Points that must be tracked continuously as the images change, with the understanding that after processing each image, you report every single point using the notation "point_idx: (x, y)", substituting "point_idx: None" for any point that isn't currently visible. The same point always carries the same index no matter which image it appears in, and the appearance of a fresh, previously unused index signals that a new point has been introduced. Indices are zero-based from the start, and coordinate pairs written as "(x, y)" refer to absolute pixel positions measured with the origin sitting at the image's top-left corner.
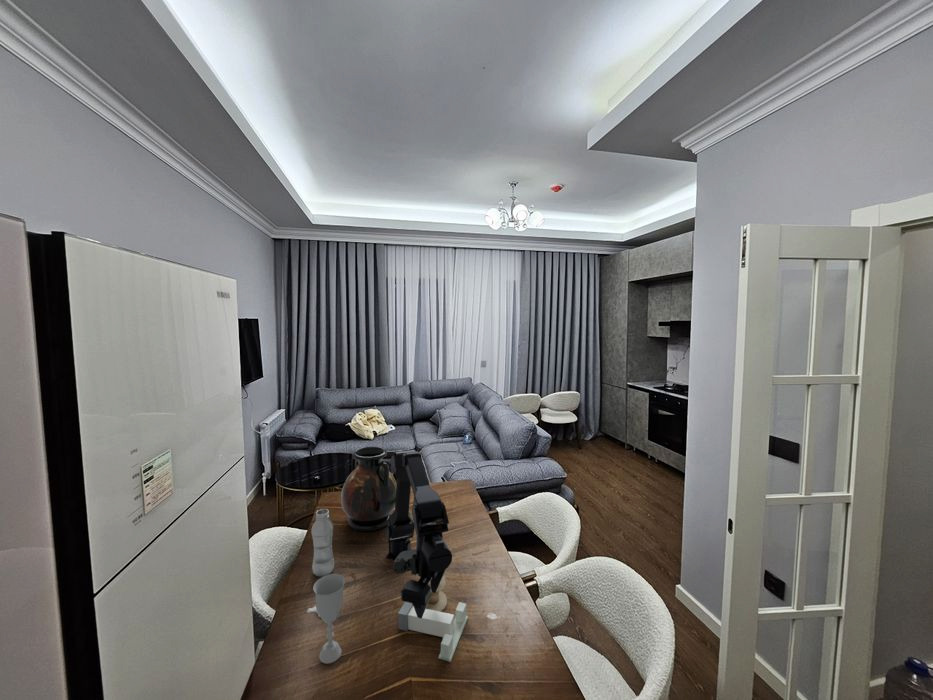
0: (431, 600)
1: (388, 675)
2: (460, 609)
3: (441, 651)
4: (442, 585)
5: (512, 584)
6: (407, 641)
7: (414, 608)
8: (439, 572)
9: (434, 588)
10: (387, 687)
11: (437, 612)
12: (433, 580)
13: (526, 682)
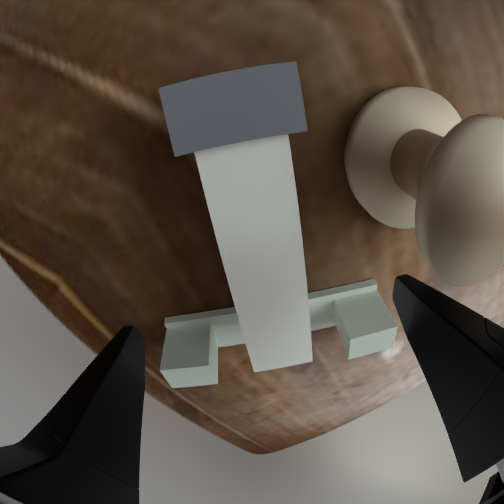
0: (402, 178)
1: (17, 221)
2: (358, 348)
3: (164, 347)
4: (459, 285)
5: None
6: (146, 178)
7: (73, 386)
8: (468, 440)
9: (408, 315)
10: (3, 244)
11: (298, 302)
12: (446, 353)
13: (238, 435)
